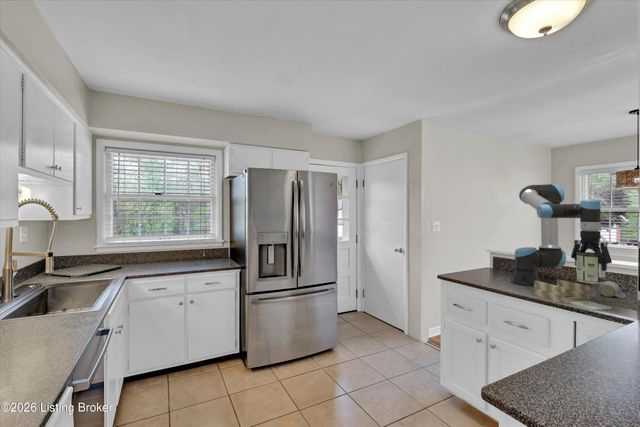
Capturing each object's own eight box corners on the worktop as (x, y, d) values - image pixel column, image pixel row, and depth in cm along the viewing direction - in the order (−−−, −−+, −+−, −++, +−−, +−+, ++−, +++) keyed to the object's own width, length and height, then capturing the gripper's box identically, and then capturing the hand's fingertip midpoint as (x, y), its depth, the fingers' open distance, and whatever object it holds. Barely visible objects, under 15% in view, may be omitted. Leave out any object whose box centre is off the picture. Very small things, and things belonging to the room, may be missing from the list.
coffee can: (594, 279, 153) (594, 252, 153) (609, 284, 143) (609, 254, 143) (571, 278, 155) (571, 251, 155) (585, 283, 145) (584, 254, 145)
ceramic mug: (597, 295, 168) (597, 281, 168) (601, 293, 172) (601, 279, 172) (624, 300, 159) (624, 286, 159) (627, 297, 164) (628, 283, 164)
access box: (534, 294, 171) (534, 280, 171) (558, 293, 173) (558, 279, 173) (563, 303, 154) (563, 288, 154) (589, 301, 157) (589, 286, 157)
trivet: (569, 303, 154) (569, 301, 154) (587, 302, 156) (587, 300, 156) (592, 310, 143) (592, 308, 143) (611, 309, 145) (611, 307, 145)
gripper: (561, 229, 160) (561, 270, 160) (609, 232, 137) (609, 280, 138) (573, 229, 161) (573, 270, 161) (622, 231, 139) (622, 279, 139)
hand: (590, 275), depth 149 cm, fingers closed on coffee can, 10 cm apart
